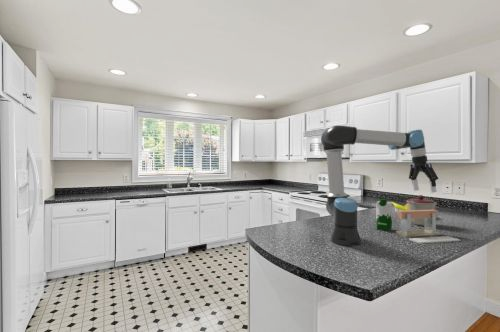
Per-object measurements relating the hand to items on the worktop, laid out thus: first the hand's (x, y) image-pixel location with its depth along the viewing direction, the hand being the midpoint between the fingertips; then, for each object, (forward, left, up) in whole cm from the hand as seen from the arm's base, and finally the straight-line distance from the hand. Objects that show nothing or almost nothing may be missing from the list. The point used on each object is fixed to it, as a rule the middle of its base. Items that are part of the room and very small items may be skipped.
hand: (424, 191), depth 150 cm
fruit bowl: (+45, +55, -27) cm, 76 cm away
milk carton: (-11, +19, -27) cm, 35 cm away
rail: (+1, +5, -17) cm, 18 cm away
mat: (-1, -8, -27) cm, 28 cm away
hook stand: (+1, +5, -27) cm, 28 cm away
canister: (+26, +27, -27) cm, 46 cm away
